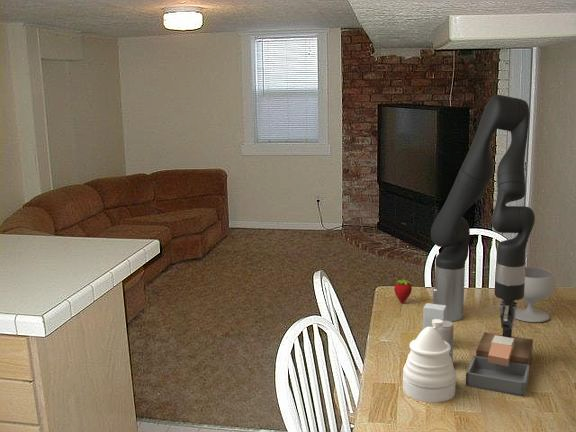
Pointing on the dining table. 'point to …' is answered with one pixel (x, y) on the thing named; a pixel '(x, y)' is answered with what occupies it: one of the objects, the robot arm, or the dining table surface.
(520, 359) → the wooden grain block
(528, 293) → the chalice
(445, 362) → the honey pot
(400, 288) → the strawberry
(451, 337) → the energy drink
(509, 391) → the box
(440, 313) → the skincare box
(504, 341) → the tile back
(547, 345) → the dining table surface
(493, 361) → the tile front
